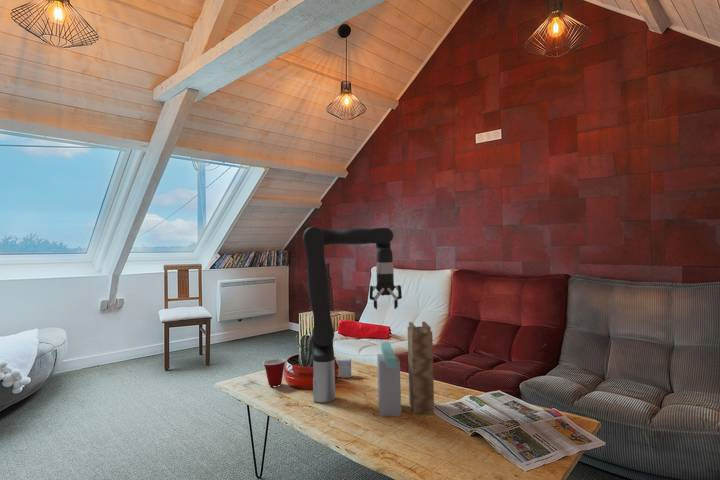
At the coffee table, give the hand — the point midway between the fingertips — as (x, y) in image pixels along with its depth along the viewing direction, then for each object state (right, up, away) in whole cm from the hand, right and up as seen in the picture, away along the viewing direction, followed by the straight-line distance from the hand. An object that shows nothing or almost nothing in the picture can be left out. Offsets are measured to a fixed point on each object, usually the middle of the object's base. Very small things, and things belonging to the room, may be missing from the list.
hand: (385, 308), depth 186 cm
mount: (+13, -38, -17) cm, 43 cm away
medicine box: (-20, -39, +26) cm, 51 cm away
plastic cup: (-53, -40, +15) cm, 68 cm away
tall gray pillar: (0, -38, -17) cm, 42 cm away
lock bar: (0, -17, -18) cm, 25 cm away
